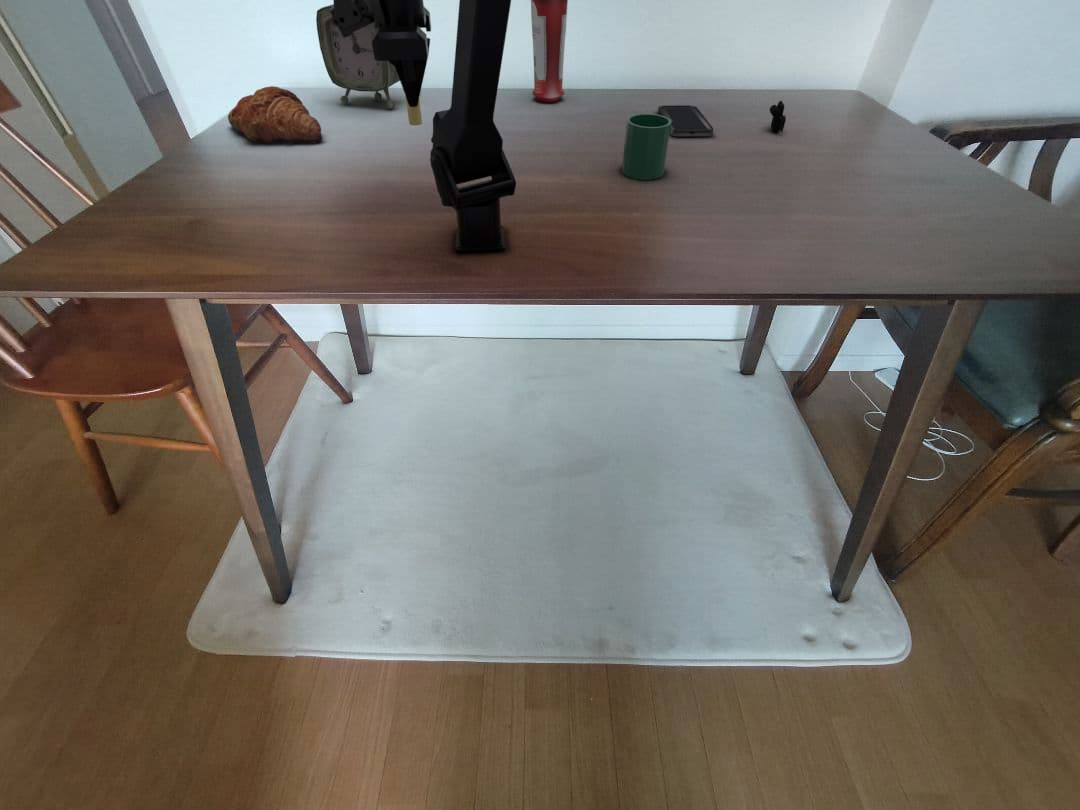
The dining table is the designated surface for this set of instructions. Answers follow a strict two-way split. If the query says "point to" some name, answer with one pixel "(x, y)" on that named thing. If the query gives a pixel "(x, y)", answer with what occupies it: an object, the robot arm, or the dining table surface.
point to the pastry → (274, 117)
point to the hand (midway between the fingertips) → (413, 104)
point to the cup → (646, 146)
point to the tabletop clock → (353, 59)
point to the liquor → (548, 48)
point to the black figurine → (777, 117)
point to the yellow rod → (414, 114)
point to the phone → (686, 121)
